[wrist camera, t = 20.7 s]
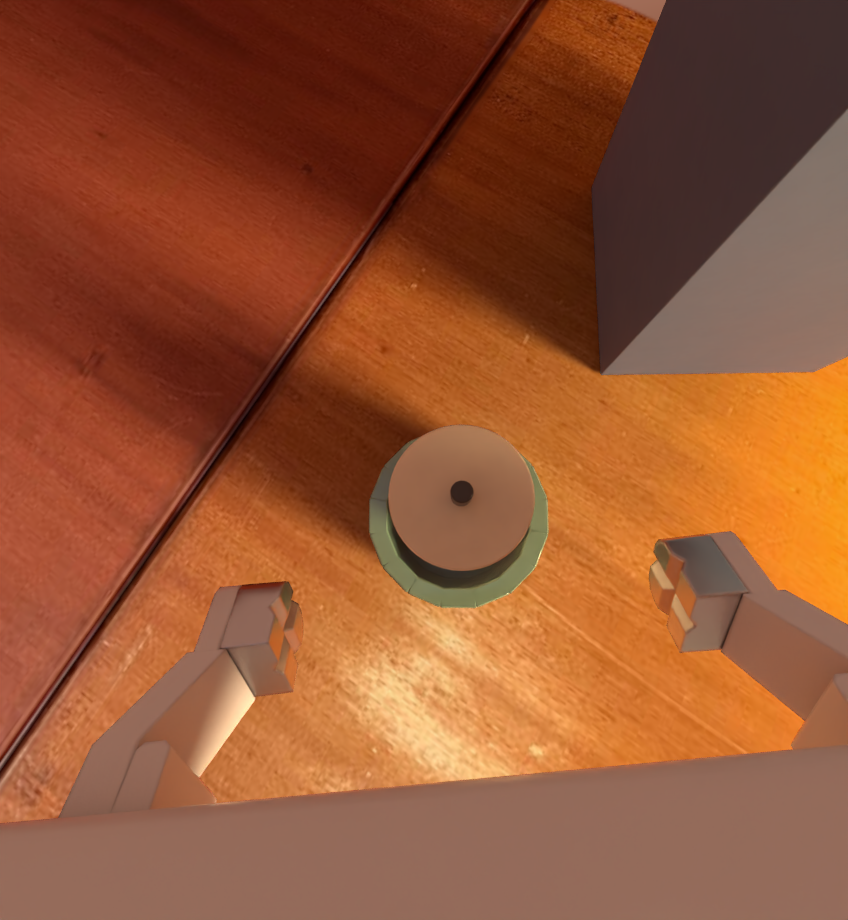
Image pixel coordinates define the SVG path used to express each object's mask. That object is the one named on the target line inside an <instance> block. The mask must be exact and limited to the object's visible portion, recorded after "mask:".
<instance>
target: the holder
mask: <svg viewBox="0 0 848 920" xmlns="http://www.w3.org/2000/svg"><path fill="white" fill-rule="evenodd" d="M418 438H420V437H418ZM418 438H416V439H413V440H411V441H409V443H406V444H405V445H404V446H403V447H402V448H401V449H400V450H399V451H398V452H397V453H396V454H395V455H394V456H393V457H392V458H391V459H390V460H389V461H388V462H387V463H386V464H385V465H384V467H383V468H382V470H381V473H380V475H379V477H378V480H377V482H376V484H375V487H374V489H373V491H372V494H371V496H370V499H369V533H370V538H371V540H372V543H373V545H374V548H375V551H376V553H377V556H378V558H379V561H380V563H381V565H382V566H383V569H384V570H385V571H386V572H387V573H388V574H389V575H390V576H391V577H392V578H393V579H394V580H395V581H396V582H397V583H398V584H399V585H400V587H401V588H402V589H403V590H404V591H405V592H408V593H409V594H410V595H412V596H415V597H417V598H419V599H422V600H424V601H426V602H428V603H431V604H433V605H435V606H438V607H441V608H476V607H480V606H483V605H485V604H487V603H490V602H492V601H495V600H497V599H499V598H502V597H504V596H507V595H508V594H509V593H512V592H513V591H514V590H515V589H516V588H517V587H518V586H519V585H520V584H521V583H522V582H523V581H524V580H525V578H526V577H527V576H528V575H529V574H530V573H531V572H532V571H533V570H534V569H535V567H536V566H537V563H538V560H539V558H540V555H541V553H542V550H543V547H544V545H545V542H546V540H547V537H548V532H549V530H548V500H547V496H546V494H545V491H544V489H543V487H542V485H541V482H540V480H539V478H538V476H537V474H536V471H535V469H534V467H533V466H532V464H531V463H530V462H529V461H528V460H527V459H526V458H524V457H523V456H522V455H521V454H520V455H521V456H522V458H523V459H524V461H525V463H526V464H527V466H528V468H529V471H530V474H531V476H532V480H533V484H534V492H535V506H534V512H533V517H532V520H531V523H530V526H529V528H528V530H527V532H526V534H525V536H524V537H523V539H522V540H521V542H520V543H519V544H518V545H517V546H516V548H515V549H514V550H513V551H511V552H510V553H509V554H508V555H507V556H506V557H504V558H503V559H501V560H500V561H498V562H496V563H494V564H492V565H490V566H487V567H484V568H481V569H475V570H468V571H456V570H449V569H444V568H440V567H438V566H435V565H432V564H430V563H428V562H426V561H424V560H423V559H421V558H420V557H419V556H417V555H416V554H415V553H414V552H412V551H411V550H410V549H409V548H408V547H407V545H406V544H405V543H404V542H403V541H402V539H401V537H400V536H399V534H398V533H397V531H396V529H395V526H394V524H393V521H392V518H391V515H390V510H389V500H388V494H389V485H390V480H391V476H392V473H393V471H394V468H395V466H396V464H397V462H398V460H399V459H400V457H401V456H402V454H403V453H404V452H405V451H406V449H407V448H408V447H409V446H410V445H411V444H412V443H413V442H415V441H416V440H417V439H418Z"/></svg>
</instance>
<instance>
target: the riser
mask: <svg viewBox="0 0 848 920" xmlns="http://www.w3.org/2000/svg"><path fill="white" fill-rule="evenodd" d="M592 209H593V229H594V250H595V271H596V292H597V312H598V333H599V354H600V374H601V375H628V374H700V373H773V372H815V371H817V370H819V369H821V368H823V367H826V366H828V365H830V364H832V363H835V362H837V361H839V360H841V359H843V358H846V357H848V0H666V3H665V5H664V7H663V10H662V12H661V15H660V17H659V20H658V22H657V25H656V27H655V30H654V32H653V35H652V37H651V40H650V42H649V45H648V47H647V50H646V52H645V55H644V58H643V60H642V63H641V65H640V68H639V70H638V73H637V75H636V78H635V80H634V83H633V85H632V88H631V90H630V93H629V95H628V98H627V100H626V103H625V105H624V108H623V110H622V113H621V115H620V118H619V120H618V123H617V125H616V128H615V130H614V133H613V135H612V138H611V140H610V143H609V145H608V148H607V150H606V153H605V155H604V158H603V160H602V163H601V165H600V168H599V170H598V173H597V175H596V178H595V180H594V183H593V185H592Z"/></svg>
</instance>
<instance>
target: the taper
mask: <svg viewBox="0 0 848 920" xmlns="http://www.w3.org/2000/svg"><path fill="white" fill-rule="evenodd" d="M388 500H389V510H390V515H391V518H392V521H393V524H394V526H395V529H396V531H397V533H398V534H399V536H400V537H401V539H402V541H403V542H404V543H405V544H406V545H407V547H408V548H409V549H410V550H411V551H412V552H414V553H415V554H416V555H417V556H419V557H420V558H421V559H423V560H424V561H426V562H428V563H430V564H432V565H435V566H438V567H440V568H444V569H449V570H456V571H468V570H475V569H481V568H484V567H487V566H490V565H492V564H494V563H496V562H498V561H500V560H501V559H503V558H504V557H506V556H507V555H508V554H509V553H510V552H511V551H513V550H514V549H515V548H516V546H517V545H518V544H519V543H520V542H521V540H522V539H523V537H524V536H525V534H526V532H527V530H528V528H529V526H530V523H531V520H532V517H533V512H534V506H535V492H534V484H533V480H532V476H531V474H530V471H529V468H528V466H527V464H526V463H525V461H524V459H523V458H522V456H521V455H520V453H519V452H518V451H517V450H516V449H515V448H514V447H513V445H511V444H510V443H509V442H508V441H507V440H505V439H504V438H503V437H501V436H499V435H498V434H496V433H494V432H492V431H490V430H487V429H484V428H481V427H477V426H472V425H450V426H445V427H441V428H438V429H435V430H432V431H430V432H428V433H426V434H424V435H423V436H421V437H420V438H418V439H417V440H416V441H415V442H413V443H412V444H411V445H410V446H409V447H408V448H407V449H406V451H405V452H404V453H403V454H402V456H401V457H400V459H399V460H398V462H397V464H396V466H395V468H394V471H393V473H392V476H391V480H390V485H389V494H388Z"/></svg>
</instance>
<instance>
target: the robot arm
mask: <svg viewBox="0 0 848 920" xmlns="http://www.w3.org/2000/svg"><path fill="white" fill-rule="evenodd" d="M654 554H655V556H656V558H657V559H658V560H656V561H655V562H654V563H653V564H652V565H651V566H650V572H649V582H650V590H651V593H652V596H653V599H654V601H655V603H656V605H657V607H658V608H659V609H660V610H661V611H663V612H664V613H666V614H667V615H669V617H668V621H667V625H666V626H667V628H668V630H669V632H670V634H671V636H672V638H673V640H674V642H675V644H676V646H677V648H678V650H679V652H680V653H682V652H695V651H709V650H721V652H722V653H723V654H724V655H726V656H727V657H728V658H729V659H731V660H732V661H733V662H734V663H735V664H737V665H738V666H739V667H740V668H741V669H743V670H744V671H745V672H746V673H748V674H749V675H750V676H751V677H752V678H754V679H755V680H756V681H757V682H758V683H760V684H761V685H762V686H763V687H765V688H766V689H767V690H768V691H769V692H771V693H772V694H773V695H774V696H775V697H777V698H778V699H779V700H780V701H782V702H783V703H784V704H785V705H786V706H788V707H789V708H790V709H791V710H792V711H794V712H795V713H796V714H797V715H798V716H800V717H801V718H802V719H803V720H805V722H804V724H803V725H802V727H801V728H800V730H799V732H798V733H797V735H796V736H795V738H794V740H793V742H792V744H791V746H792V748H793V750H782V751H771V752H761V753H750V754H739V755H728V756H717V757H707V758H696V759H685V760H674V761H664V762H653V763H642V764H631V765H620V766H610V767H599V768H588V769H577V770H566V771H556V772H545V773H534V774H523V775H513V776H502V777H491V778H481V779H470V780H459V781H448V782H438V783H427V784H416V785H406V786H395V787H384V788H374V789H363V790H352V791H342V792H331V793H320V794H310V795H299V796H288V797H278V798H267V799H256V800H246V801H235V802H224V803H216V800H217V799H216V798H215V796H214V794H213V793H212V792H211V791H210V789H209V788H208V787H207V786H206V785H205V784H204V783H203V782H202V780H201V779H200V778H199V777H200V776H201V774H202V773H203V771H204V770H205V769H206V767H207V766H208V764H209V763H210V762H211V760H212V759H213V758H214V756H215V755H216V753H217V752H218V751H219V749H220V748H221V746H222V745H223V744H224V742H225V741H226V739H227V738H228V737H229V735H230V734H231V732H232V731H233V730H234V728H235V727H236V726H237V724H238V723H239V721H240V720H241V719H242V717H243V716H244V714H245V713H246V712H247V710H248V709H249V707H250V706H251V705H252V703H253V702H254V700H255V697H258V696H265V695H273V694H281V693H288V692H293V690H294V685H295V679H296V674H297V668H298V662H297V660H296V658H295V655H294V653H295V652H296V651H297V650H298V649H299V648H300V647H301V645H302V638H303V617H302V612H301V609H300V607H299V604H298V603H296V602H294V601H293V600H291V599H292V594H293V590H292V588H291V586H290V584H289V582H286V581H283V582H271V583H259V584H248V585H239V586H228V587H220V588H219V589H218V591H217V592H216V593H215V595H214V598H213V600H212V603H211V606H210V609H209V611H208V614H207V617H206V620H205V622H204V625H203V628H202V631H201V633H200V636H199V639H198V642H197V644H196V647H195V650H194V652H189V653H186V654H185V655H184V656H183V657H182V658H181V659H180V660H179V661H178V662H177V663H176V664H175V665H174V666H173V667H172V668H171V669H170V670H169V671H168V672H167V673H166V674H165V675H164V676H163V677H162V678H161V679H160V680H159V681H158V682H157V683H156V684H155V685H154V686H152V687H151V688H150V689H149V690H148V691H147V692H146V693H145V694H144V695H143V696H142V697H141V698H140V699H139V700H138V701H137V702H136V703H135V704H134V705H133V706H132V707H131V708H130V709H129V710H128V711H127V712H126V713H125V714H124V715H123V716H122V717H121V718H120V719H118V720H117V721H116V722H115V723H114V724H113V725H112V726H111V727H110V728H109V729H108V730H107V731H106V732H105V733H104V734H103V735H102V736H101V737H100V738H99V739H98V740H97V741H96V742H95V743H94V744H93V745H92V746H91V749H90V751H89V753H88V755H87V757H86V759H85V761H84V764H83V766H82V768H81V770H80V772H79V774H78V776H77V779H76V781H75V783H74V785H73V787H72V789H71V792H70V794H69V796H68V798H67V800H66V802H65V804H64V807H63V809H62V811H61V813H60V815H59V817H58V818H53V819H43V820H32V821H21V822H11V823H0V920H848V625H847V624H846V623H844V622H842V621H840V620H838V619H837V618H835V617H833V616H831V615H829V614H828V613H826V612H824V611H822V610H820V609H819V608H817V607H815V606H813V605H811V604H810V603H808V602H806V601H804V600H802V599H801V598H799V597H797V596H795V595H794V594H792V593H790V592H788V591H786V590H777V589H776V587H775V586H774V585H773V584H772V582H771V581H770V580H769V578H768V577H767V576H766V574H765V573H764V572H763V570H762V569H761V568H760V566H759V565H758V564H757V562H756V561H755V560H754V558H753V557H752V556H751V554H750V553H749V552H748V550H747V549H746V548H745V546H744V545H743V544H742V542H741V541H740V540H739V538H738V537H737V536H736V534H734V533H732V532H731V531H728V532H720V533H711V534H705V535H704V534H700V535H692V536H683V537H675V538H667V539H659V540H658V541H657V542H656V544H655V548H654Z"/></svg>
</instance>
